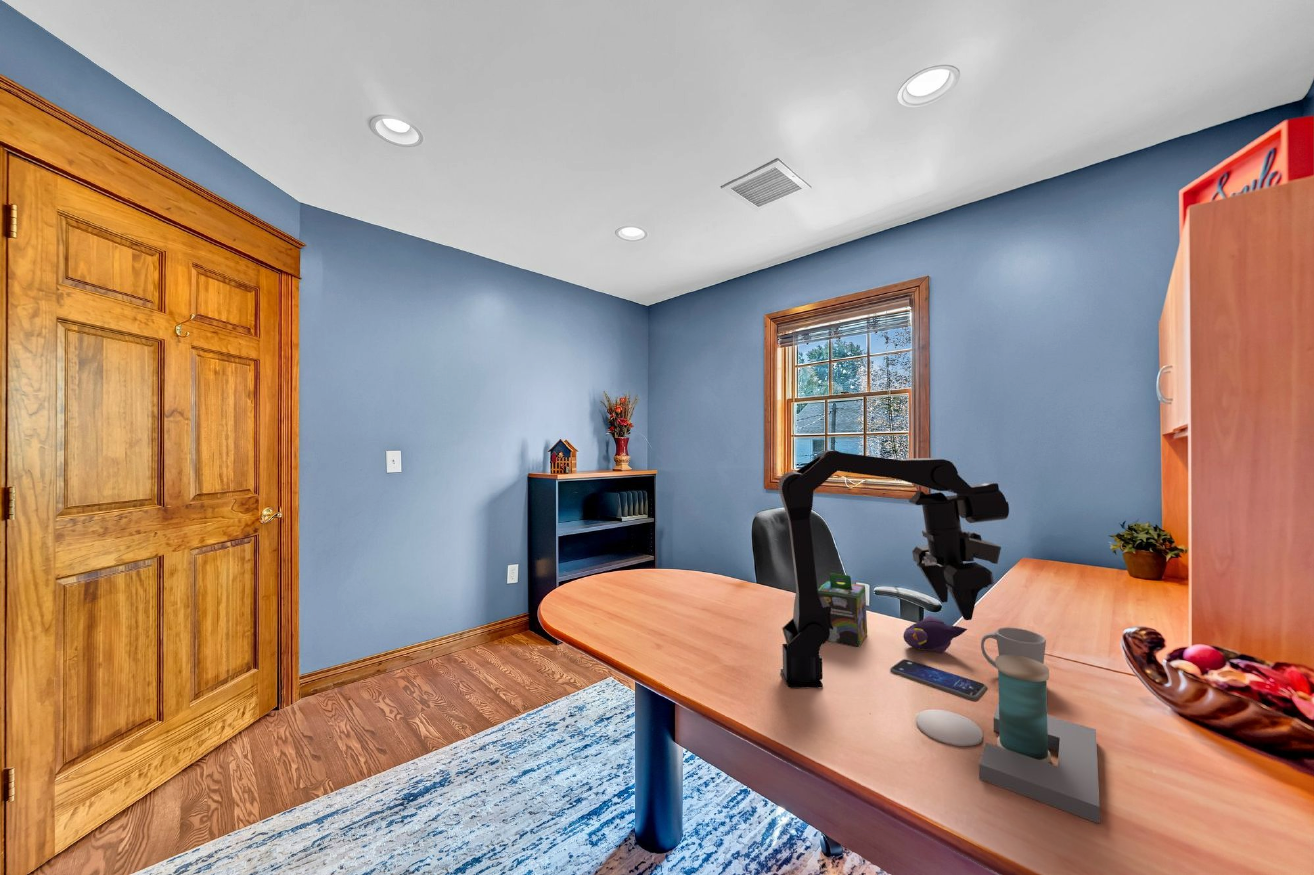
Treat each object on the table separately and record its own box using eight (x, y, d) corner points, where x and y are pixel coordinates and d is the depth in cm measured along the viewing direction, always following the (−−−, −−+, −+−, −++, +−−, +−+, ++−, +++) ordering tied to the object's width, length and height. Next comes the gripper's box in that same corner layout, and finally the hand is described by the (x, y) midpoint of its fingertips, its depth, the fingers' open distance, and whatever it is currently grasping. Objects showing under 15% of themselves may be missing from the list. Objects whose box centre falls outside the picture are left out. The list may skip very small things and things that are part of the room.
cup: (1048, 694, 86) (1047, 646, 86) (980, 679, 92) (979, 634, 92) (1045, 677, 92) (1044, 632, 92) (982, 663, 98) (981, 621, 98)
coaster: (935, 746, 72) (935, 743, 72) (905, 712, 81) (905, 709, 81) (996, 746, 72) (996, 742, 72) (959, 712, 81) (959, 709, 81)
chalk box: (867, 634, 114) (866, 571, 114) (859, 648, 106) (857, 581, 106) (827, 626, 119) (826, 566, 119) (816, 639, 111) (815, 575, 112)
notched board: (979, 778, 66) (979, 763, 66) (998, 713, 81) (998, 701, 81) (1099, 823, 58) (1099, 806, 58) (1096, 742, 73) (1095, 729, 73)
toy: (970, 660, 100) (970, 629, 100) (915, 663, 100) (914, 632, 100) (940, 635, 111) (939, 606, 111) (889, 638, 111) (888, 609, 111)
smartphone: (903, 657, 101) (988, 684, 89) (903, 662, 101) (988, 689, 89) (887, 668, 96) (975, 698, 84) (888, 673, 96) (975, 703, 84)
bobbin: (1017, 768, 67) (1015, 674, 67) (987, 740, 74) (985, 654, 74) (1062, 768, 67) (1060, 674, 67) (1029, 740, 73) (1027, 654, 74)
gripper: (1020, 530, 79) (1035, 626, 79) (964, 513, 98) (976, 590, 97) (948, 538, 81) (962, 632, 80) (906, 519, 99) (917, 595, 99)
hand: (955, 610), depth 89 cm, fingers open, 9 cm apart
